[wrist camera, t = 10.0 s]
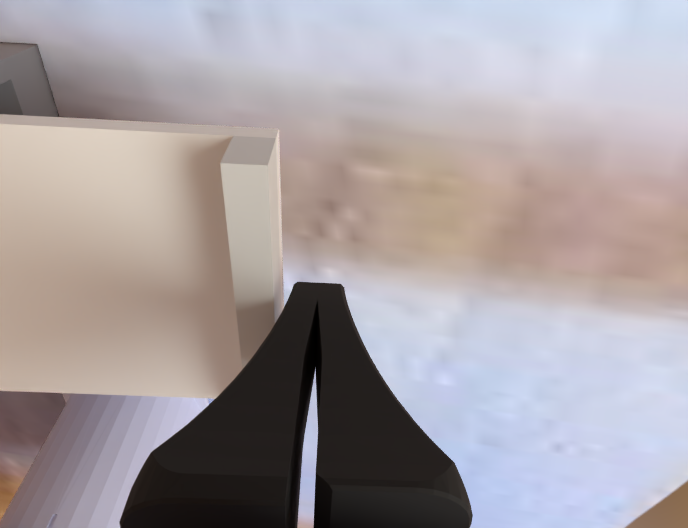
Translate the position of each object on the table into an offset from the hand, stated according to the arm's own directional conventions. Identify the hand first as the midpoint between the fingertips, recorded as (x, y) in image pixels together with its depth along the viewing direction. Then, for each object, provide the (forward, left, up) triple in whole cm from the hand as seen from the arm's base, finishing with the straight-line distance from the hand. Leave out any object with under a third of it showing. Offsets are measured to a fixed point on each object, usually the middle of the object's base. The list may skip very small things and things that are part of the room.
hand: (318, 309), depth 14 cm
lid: (0, +8, -1) cm, 8 cm away
